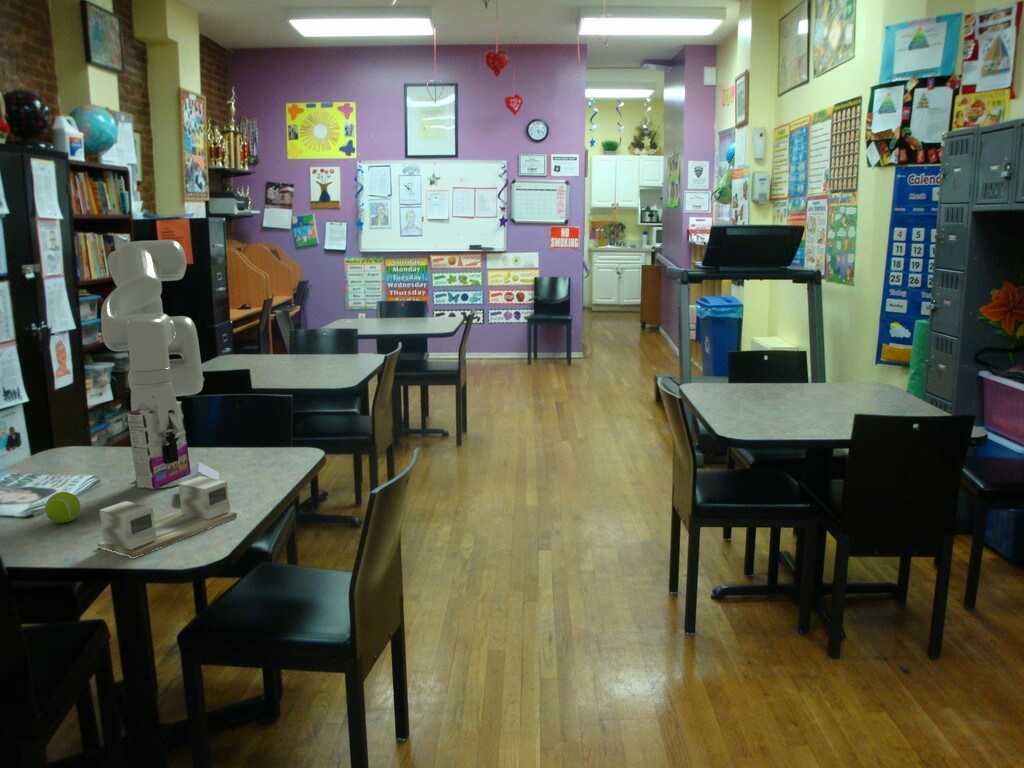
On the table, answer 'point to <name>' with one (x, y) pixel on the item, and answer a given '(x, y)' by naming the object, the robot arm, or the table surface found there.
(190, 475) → the white angular piece
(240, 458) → the table surface
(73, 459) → the table surface
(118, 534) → the rail board
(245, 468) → the table surface
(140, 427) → the candy bar box
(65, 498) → the tennis ball
